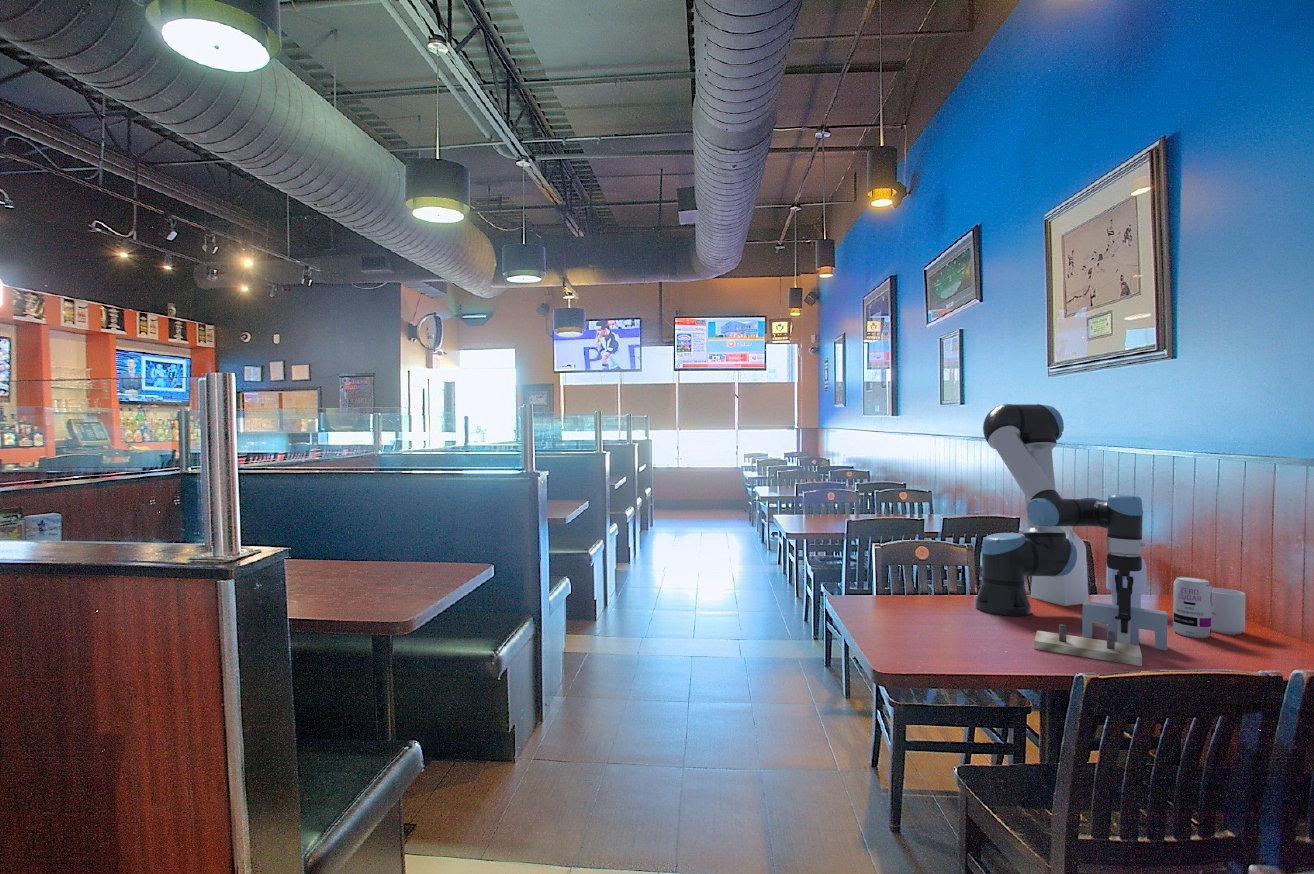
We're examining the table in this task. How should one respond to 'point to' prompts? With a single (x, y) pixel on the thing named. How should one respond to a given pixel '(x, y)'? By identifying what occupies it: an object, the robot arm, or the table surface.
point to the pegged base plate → (1088, 646)
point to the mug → (1227, 611)
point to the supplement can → (1192, 607)
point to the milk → (1065, 579)
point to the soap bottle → (1137, 586)
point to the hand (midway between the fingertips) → (1123, 640)
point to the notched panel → (1139, 620)
